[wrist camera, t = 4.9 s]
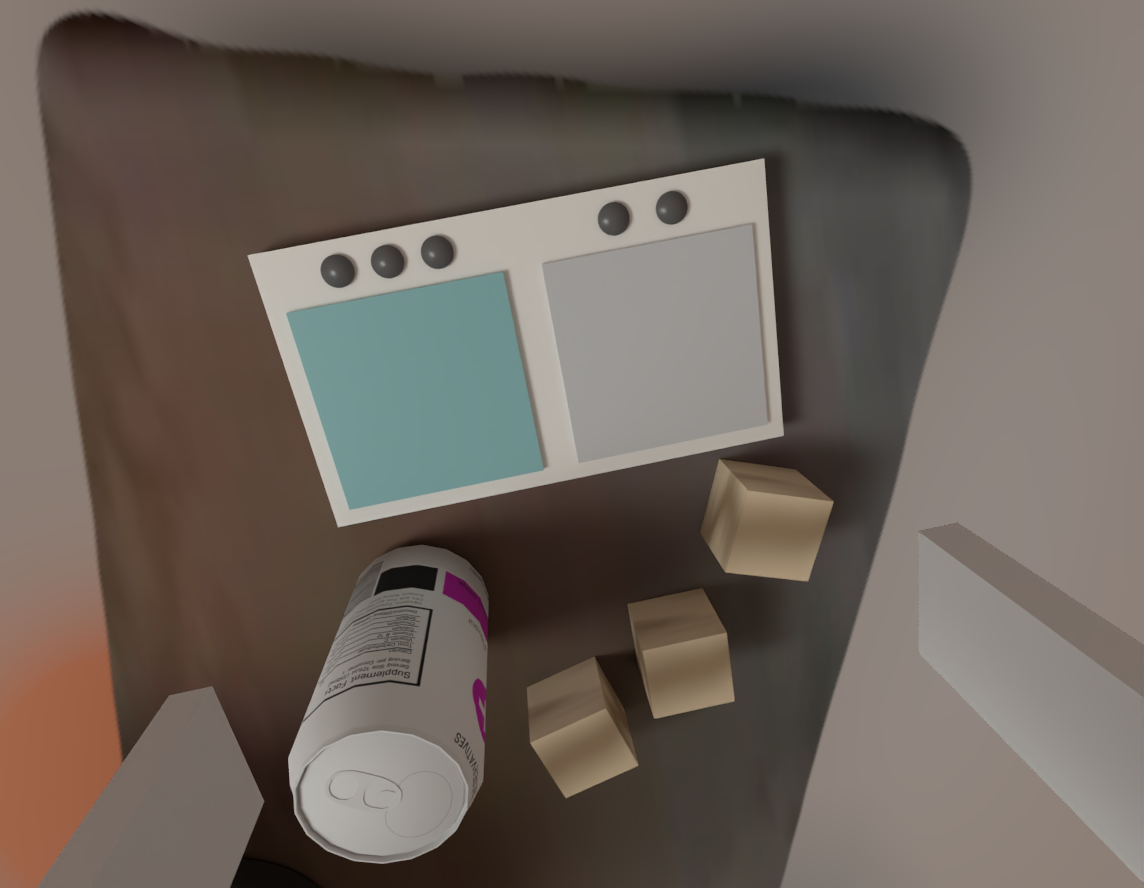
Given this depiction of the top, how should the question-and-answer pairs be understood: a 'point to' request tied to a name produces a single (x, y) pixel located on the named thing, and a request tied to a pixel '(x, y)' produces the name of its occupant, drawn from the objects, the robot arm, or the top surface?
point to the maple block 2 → (681, 653)
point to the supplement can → (397, 711)
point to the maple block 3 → (764, 520)
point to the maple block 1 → (579, 728)
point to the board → (531, 341)
